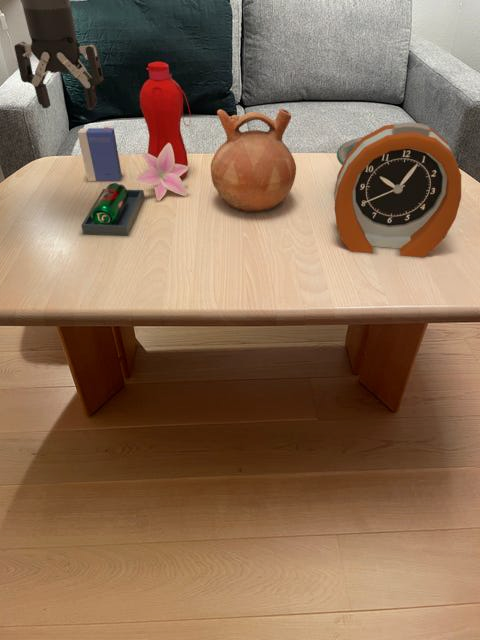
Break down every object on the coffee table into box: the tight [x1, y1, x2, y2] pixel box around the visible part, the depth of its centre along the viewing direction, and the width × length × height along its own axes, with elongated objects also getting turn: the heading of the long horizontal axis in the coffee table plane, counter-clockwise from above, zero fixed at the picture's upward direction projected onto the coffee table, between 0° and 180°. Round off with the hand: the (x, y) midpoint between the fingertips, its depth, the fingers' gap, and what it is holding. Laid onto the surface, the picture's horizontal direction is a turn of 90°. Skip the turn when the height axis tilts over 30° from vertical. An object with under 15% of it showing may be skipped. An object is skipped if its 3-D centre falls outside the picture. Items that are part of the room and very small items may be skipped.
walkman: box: [76, 126, 122, 182], centre depth 111 cm, size 8×3×12 cm, turn 92°
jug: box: [210, 108, 297, 214], centre depth 100 cm, size 18×18×20 cm
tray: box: [80, 188, 145, 237], centre depth 100 cm, size 16×9×2 cm, turn 177°
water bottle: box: [139, 61, 192, 180], centre depth 108 cm, size 9×11×25 cm
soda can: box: [91, 182, 129, 225], centre depth 98 cm, size 5×5×12 cm
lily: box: [134, 143, 189, 202], centre depth 107 cm, size 12×12×10 cm
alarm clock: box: [333, 121, 462, 258], centre depth 87 cm, size 22×10×23 cm, turn 82°
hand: (68, 107), depth 87 cm, fingers open, 8 cm apart
